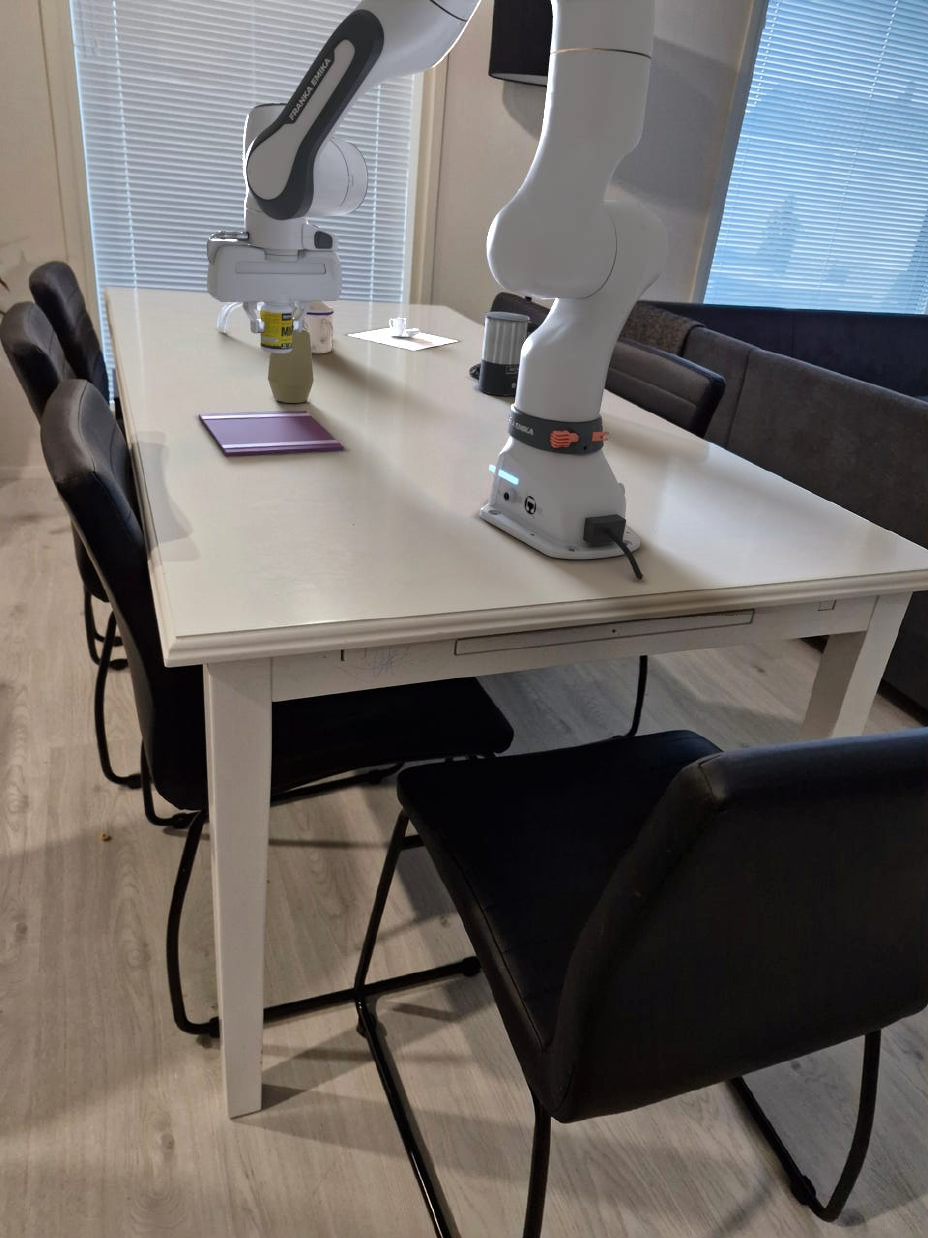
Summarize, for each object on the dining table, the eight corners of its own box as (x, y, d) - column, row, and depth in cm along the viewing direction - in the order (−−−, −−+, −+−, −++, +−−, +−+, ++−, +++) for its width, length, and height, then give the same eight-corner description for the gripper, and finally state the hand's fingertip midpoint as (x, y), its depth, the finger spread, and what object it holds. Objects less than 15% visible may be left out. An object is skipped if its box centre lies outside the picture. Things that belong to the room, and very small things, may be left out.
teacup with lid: (283, 346, 196) (283, 291, 190) (318, 343, 201) (319, 290, 196) (313, 358, 188) (314, 301, 183) (348, 355, 194) (350, 300, 188)
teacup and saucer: (423, 336, 220) (425, 320, 219) (405, 340, 214) (406, 323, 212) (395, 330, 224) (396, 314, 222) (377, 333, 218) (377, 317, 216)
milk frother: (504, 399, 173) (513, 321, 166) (441, 381, 181) (448, 306, 174) (542, 389, 183) (552, 316, 176) (481, 373, 191) (489, 302, 184)
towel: (344, 450, 135) (344, 446, 135) (226, 456, 127) (226, 451, 127) (305, 413, 150) (305, 409, 150) (198, 417, 143) (198, 413, 142)
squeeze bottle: (258, 399, 156) (256, 292, 147) (286, 391, 162) (286, 289, 154) (295, 408, 153) (295, 300, 144) (322, 400, 159) (324, 296, 151)
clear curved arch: (305, 325, 219) (305, 295, 216) (324, 335, 211) (325, 304, 207) (212, 326, 207) (210, 294, 204) (229, 336, 198) (228, 303, 195)
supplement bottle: (285, 355, 131) (285, 296, 127) (255, 351, 132) (254, 292, 128) (296, 349, 135) (297, 292, 131) (267, 345, 136) (267, 288, 132)
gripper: (215, 233, 118) (218, 338, 124) (348, 238, 129) (345, 334, 135) (197, 227, 122) (201, 329, 128) (328, 232, 133) (326, 326, 140)
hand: (276, 332), depth 132 cm, fingers closed on supplement bottle, 5 cm apart
